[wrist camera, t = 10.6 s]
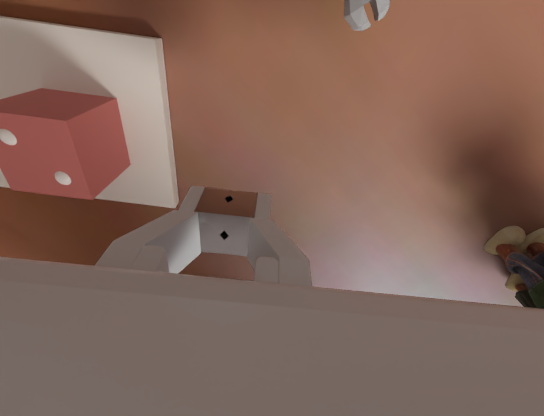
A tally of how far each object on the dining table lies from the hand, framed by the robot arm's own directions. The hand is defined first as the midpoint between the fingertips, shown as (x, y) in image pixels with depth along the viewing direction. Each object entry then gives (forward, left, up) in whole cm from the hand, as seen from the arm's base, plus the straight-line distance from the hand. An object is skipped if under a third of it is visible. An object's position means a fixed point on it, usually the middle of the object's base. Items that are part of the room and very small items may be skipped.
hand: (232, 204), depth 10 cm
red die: (-1, +9, -6) cm, 11 cm away
